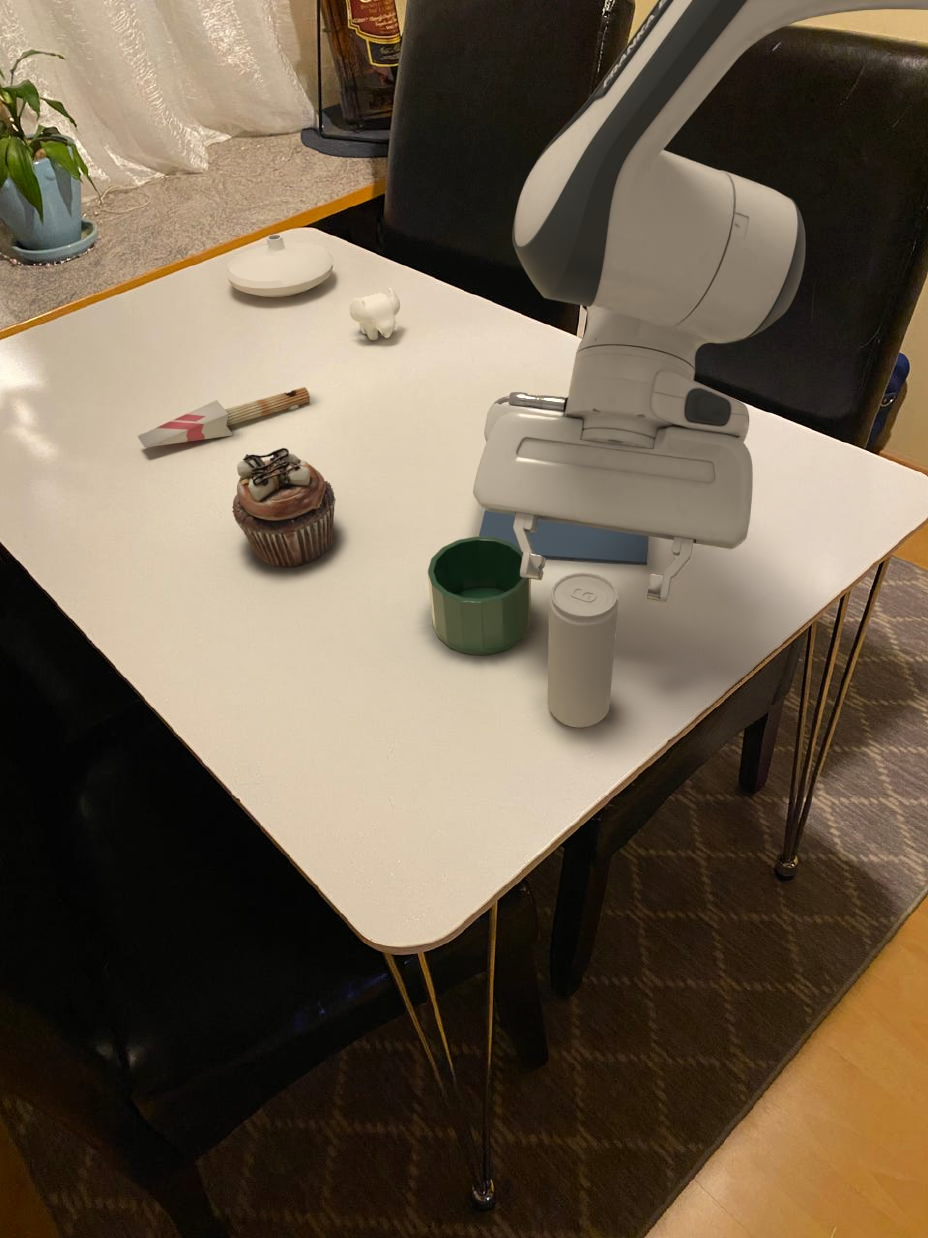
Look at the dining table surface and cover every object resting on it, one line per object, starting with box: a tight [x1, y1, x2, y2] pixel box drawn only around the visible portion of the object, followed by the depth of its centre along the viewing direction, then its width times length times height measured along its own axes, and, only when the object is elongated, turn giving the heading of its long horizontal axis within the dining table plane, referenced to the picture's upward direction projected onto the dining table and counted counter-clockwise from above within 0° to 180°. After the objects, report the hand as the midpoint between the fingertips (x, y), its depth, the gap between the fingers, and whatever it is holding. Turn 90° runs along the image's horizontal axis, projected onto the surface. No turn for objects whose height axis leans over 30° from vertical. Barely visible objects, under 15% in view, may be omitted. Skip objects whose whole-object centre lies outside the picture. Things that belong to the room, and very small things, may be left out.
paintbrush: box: [136, 386, 311, 448], centre depth 103 cm, size 4×3×20 cm
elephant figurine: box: [349, 287, 401, 341], centre depth 117 cm, size 7×8×6 cm
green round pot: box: [427, 535, 532, 656], centre depth 76 cm, size 8×8×6 cm
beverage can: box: [547, 572, 619, 728], centre depth 66 cm, size 5×5×12 cm
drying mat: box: [478, 509, 649, 566], centre depth 88 cm, size 16×12×1 cm
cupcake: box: [231, 447, 337, 568], centre depth 84 cm, size 10×10×10 cm
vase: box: [225, 233, 334, 298], centre depth 130 cm, size 16×16×7 cm
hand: (592, 589), depth 66 cm, fingers open, 8 cm apart
